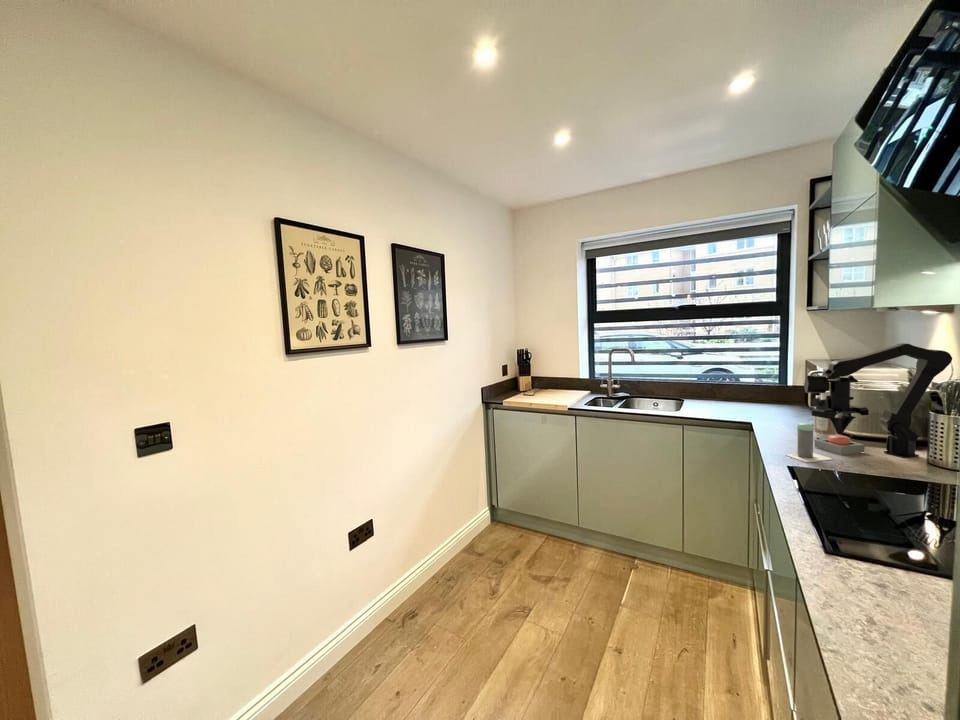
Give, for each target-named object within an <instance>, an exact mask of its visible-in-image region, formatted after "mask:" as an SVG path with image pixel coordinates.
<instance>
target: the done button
mask: <svg viewBox="0 0 960 720" xmlns="http://www.w3.org/2000/svg"><path fill="white" fill-rule="evenodd" d="M850 438H851V437H850V436H847V435H843V434H836V435H829V438H828V442H829V443H833V444H837V445H840V446H841V445H850V441H851V439H850Z"/></svg>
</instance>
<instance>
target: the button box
mask: <svg viewBox="0 0 960 720" xmlns="http://www.w3.org/2000/svg"><path fill="white" fill-rule="evenodd" d="M815 447H817V448H816V449H819V450H822V449H823V451H825V452H829V453H832V452H833V454H837V455H840V456H843V455H854V453H856V454H862V453H861V452H864V453H865V444H863V443H859V442H854V441H851V440H850V445H841V446H840V445H837V444H833V443H829V442H828V439H814V448H815Z"/></svg>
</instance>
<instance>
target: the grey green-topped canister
mask: <svg viewBox="0 0 960 720" xmlns="http://www.w3.org/2000/svg"><path fill="white" fill-rule="evenodd" d="M796 424H797V425H796V426H797V427H796V428H797V450H796V451H797V453H796V454H797V456H799V457H802V458H813V453H814V423H810V422H797V423H796Z"/></svg>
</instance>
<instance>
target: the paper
mask: <svg viewBox="0 0 960 720" xmlns="http://www.w3.org/2000/svg"><path fill="white" fill-rule="evenodd" d="M786 455H787V456H786V457H788V456H789V457H788V458H791V457H792V459H794V458H795V459H794V460H797V459H798V461H801V462H804V463H814V462H815V463H816V462H823V461H824V462H825V461H833V460H834V458H831V457H827V456H824V455H821V454H819V453H815V452H813V458H802V457H799V456H797V453H790V454H786Z"/></svg>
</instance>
